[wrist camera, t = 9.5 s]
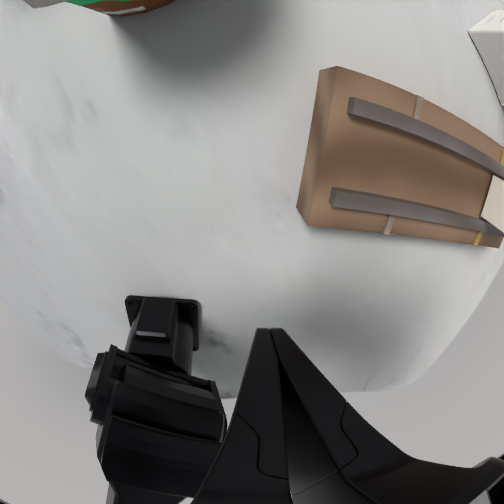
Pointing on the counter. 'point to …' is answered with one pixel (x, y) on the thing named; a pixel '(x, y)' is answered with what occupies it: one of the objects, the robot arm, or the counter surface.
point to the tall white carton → (492, 47)
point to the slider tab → (495, 204)
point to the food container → (108, 5)
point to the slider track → (395, 164)
